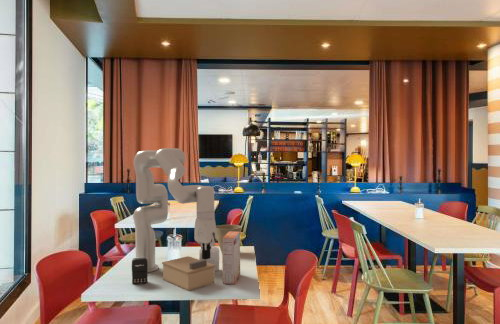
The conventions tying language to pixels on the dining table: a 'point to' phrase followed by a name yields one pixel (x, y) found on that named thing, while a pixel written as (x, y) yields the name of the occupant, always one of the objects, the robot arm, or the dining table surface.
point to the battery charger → (139, 270)
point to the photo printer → (212, 257)
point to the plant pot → (225, 232)
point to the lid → (188, 264)
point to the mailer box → (188, 278)
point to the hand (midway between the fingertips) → (206, 258)
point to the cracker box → (231, 257)
